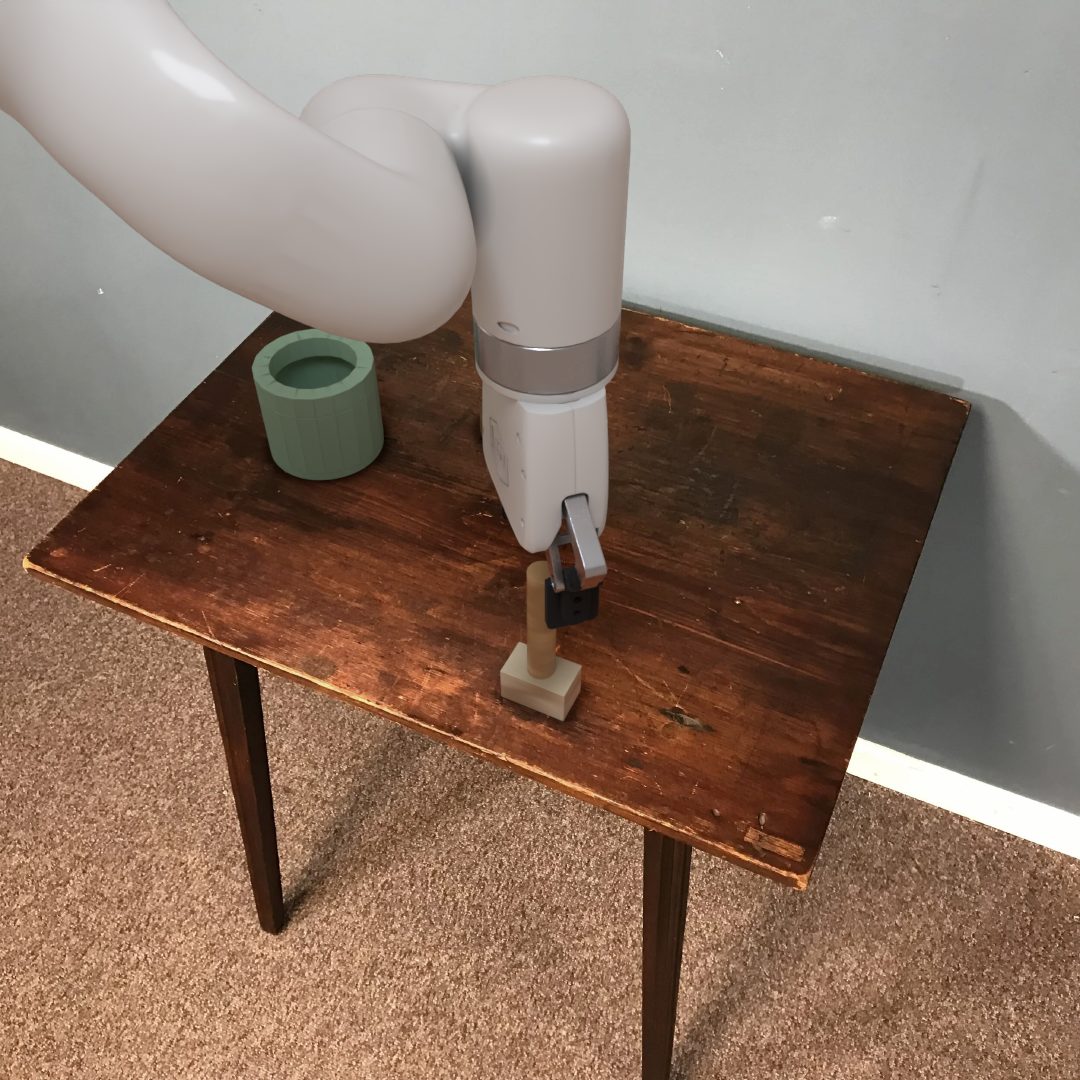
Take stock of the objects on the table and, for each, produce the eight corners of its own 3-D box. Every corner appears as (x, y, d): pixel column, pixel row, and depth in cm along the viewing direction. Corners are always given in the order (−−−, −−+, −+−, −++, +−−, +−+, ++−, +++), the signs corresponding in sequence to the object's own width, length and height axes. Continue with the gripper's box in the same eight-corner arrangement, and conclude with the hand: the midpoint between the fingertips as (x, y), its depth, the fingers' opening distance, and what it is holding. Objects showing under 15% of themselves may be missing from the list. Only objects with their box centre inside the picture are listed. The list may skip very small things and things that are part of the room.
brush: (500, 696, 75) (496, 574, 66) (519, 666, 77) (517, 544, 68) (563, 721, 73) (568, 600, 64) (580, 690, 75) (587, 568, 66)
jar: (278, 490, 90) (259, 408, 84) (265, 419, 97) (246, 339, 91) (393, 468, 92) (383, 386, 86) (372, 400, 99) (361, 320, 93)
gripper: (437, 264, 58) (456, 488, 71) (524, 456, 47) (529, 684, 59) (563, 243, 60) (561, 466, 72) (678, 424, 48) (652, 653, 60)
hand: (547, 564), depth 65 cm, fingers open, 9 cm apart
